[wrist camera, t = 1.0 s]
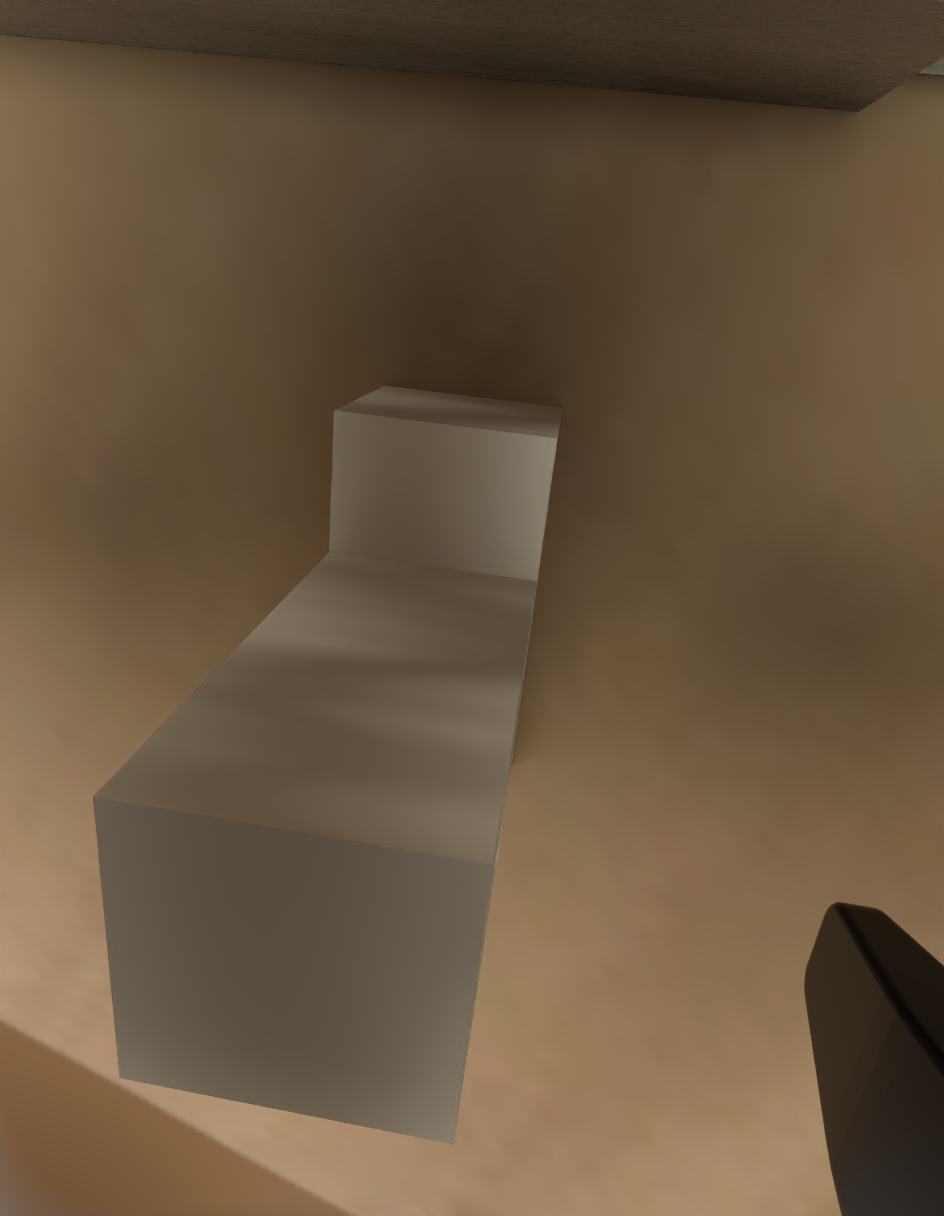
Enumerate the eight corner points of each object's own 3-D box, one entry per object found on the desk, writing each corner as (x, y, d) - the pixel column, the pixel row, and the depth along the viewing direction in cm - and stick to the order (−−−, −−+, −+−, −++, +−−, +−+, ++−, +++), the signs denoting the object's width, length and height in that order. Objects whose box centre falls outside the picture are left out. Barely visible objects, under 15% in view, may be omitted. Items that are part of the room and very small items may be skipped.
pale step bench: (562, 407, 13) (528, 606, 5) (511, 764, 16) (434, 1284, 8) (384, 385, 13) (69, 541, 5) (364, 741, 16) (133, 1220, 8)
